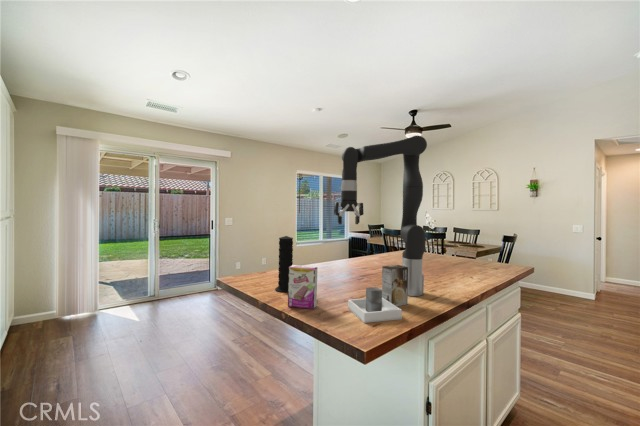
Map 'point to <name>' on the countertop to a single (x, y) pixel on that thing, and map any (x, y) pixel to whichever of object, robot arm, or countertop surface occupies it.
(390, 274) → the coffee box
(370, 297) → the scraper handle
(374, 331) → the countertop surface
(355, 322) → the countertop surface
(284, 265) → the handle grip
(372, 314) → the tray
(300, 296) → the candy bar box
